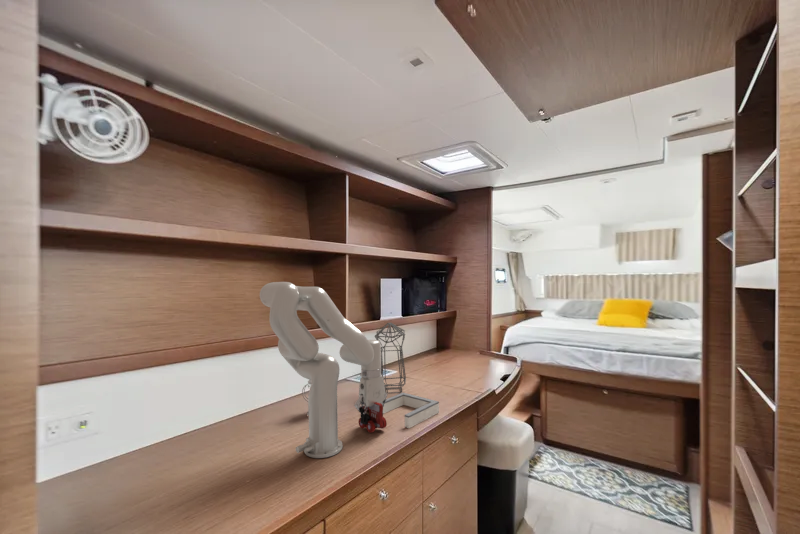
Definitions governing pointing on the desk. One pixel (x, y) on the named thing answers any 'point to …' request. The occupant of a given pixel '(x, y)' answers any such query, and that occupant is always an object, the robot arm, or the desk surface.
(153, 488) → the desk surface
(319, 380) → the robot arm
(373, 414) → the toy fire truck
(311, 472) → the desk surface
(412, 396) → the white u-shaped wall
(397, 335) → the geometric lantern
